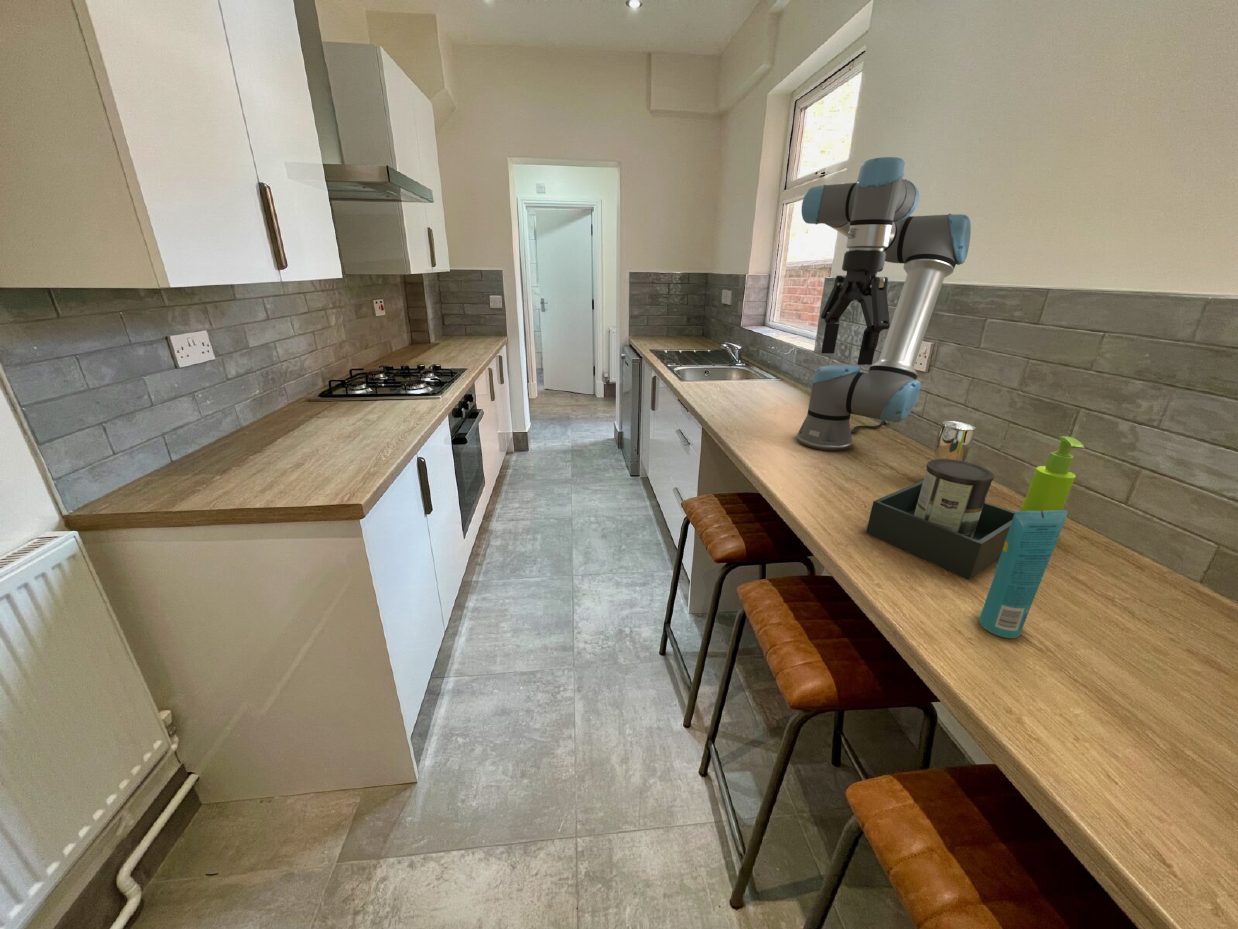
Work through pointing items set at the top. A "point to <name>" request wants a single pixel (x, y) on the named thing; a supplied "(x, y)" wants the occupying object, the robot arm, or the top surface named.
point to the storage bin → (939, 533)
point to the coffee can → (953, 494)
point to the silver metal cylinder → (954, 440)
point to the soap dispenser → (1052, 479)
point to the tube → (1020, 570)
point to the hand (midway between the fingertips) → (844, 358)
